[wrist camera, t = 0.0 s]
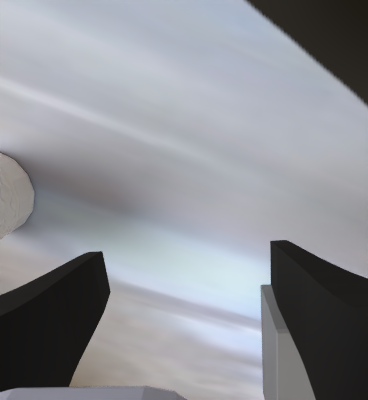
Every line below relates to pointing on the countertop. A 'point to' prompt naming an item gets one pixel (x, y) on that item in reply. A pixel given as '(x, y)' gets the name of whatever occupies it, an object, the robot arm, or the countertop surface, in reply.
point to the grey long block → (280, 356)
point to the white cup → (14, 195)
